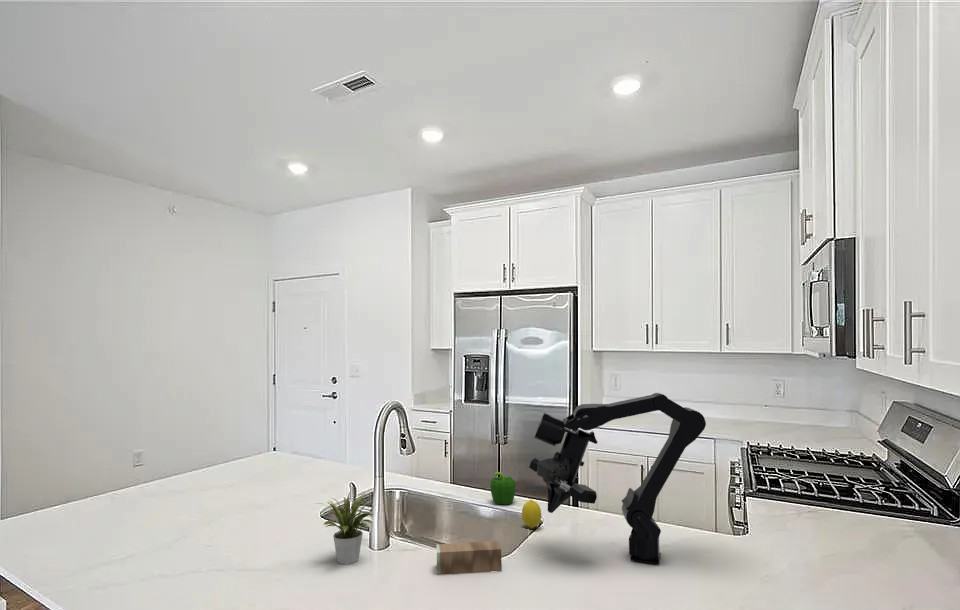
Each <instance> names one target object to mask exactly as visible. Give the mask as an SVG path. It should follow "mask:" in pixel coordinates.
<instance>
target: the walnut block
mask: <svg viewBox="0 0 960 610" xmlns="http://www.w3.org/2000/svg"><path fill="white" fill-rule="evenodd" d="M502 565H503V564H502V548H501V544H500V541H499V540H490V541H473V542H472V541H471V542H454V543H453V542H452V543H436V576H441V575H442V576H444V575H458V574H459V575H460V574H462V575H463V574H476V573H479V574H480V573H491V571H497V572H502Z"/></svg>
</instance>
